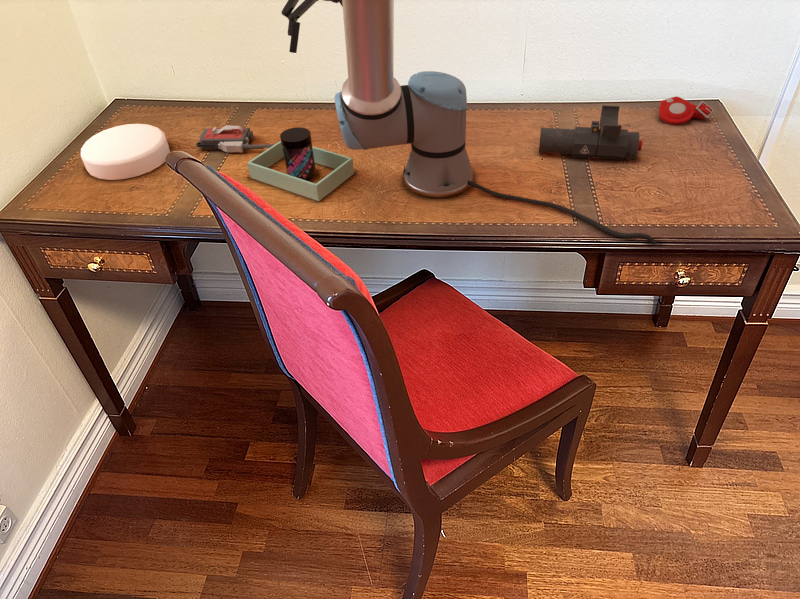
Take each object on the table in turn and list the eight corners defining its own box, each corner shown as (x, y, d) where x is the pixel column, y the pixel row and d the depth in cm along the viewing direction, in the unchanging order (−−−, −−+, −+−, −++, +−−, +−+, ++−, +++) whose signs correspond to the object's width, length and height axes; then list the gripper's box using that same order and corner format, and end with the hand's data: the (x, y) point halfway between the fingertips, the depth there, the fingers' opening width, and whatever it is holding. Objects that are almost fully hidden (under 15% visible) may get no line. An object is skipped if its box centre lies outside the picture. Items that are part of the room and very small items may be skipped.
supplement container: (282, 180, 143) (274, 139, 136) (296, 166, 148) (289, 125, 141) (307, 185, 141) (301, 144, 134) (322, 170, 146) (316, 129, 139)
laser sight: (539, 141, 151) (543, 102, 144) (636, 147, 147) (646, 107, 140) (537, 162, 144) (542, 122, 137) (639, 168, 140) (649, 127, 133)
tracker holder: (668, 124, 152) (651, 97, 158) (666, 137, 156) (649, 111, 161) (718, 108, 151) (699, 82, 157) (714, 122, 155) (696, 96, 160)
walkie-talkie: (194, 154, 154) (274, 153, 153) (189, 138, 151) (271, 137, 150) (204, 137, 161) (281, 136, 159) (200, 121, 158) (278, 120, 156)
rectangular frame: (354, 173, 144) (352, 158, 142) (318, 201, 136) (316, 185, 134) (287, 152, 153) (284, 137, 150) (250, 177, 145) (246, 162, 142)
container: (167, 173, 148) (161, 155, 145) (79, 185, 146) (71, 168, 143) (172, 134, 163) (167, 117, 160) (92, 145, 160) (85, 128, 157)
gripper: (395, -32, 136) (377, 70, 144) (286, -53, 139) (275, 48, 146) (388, -38, 129) (370, 69, 137) (274, -60, 132) (263, 46, 139)
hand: (321, 58), depth 142 cm, fingers open, 13 cm apart
